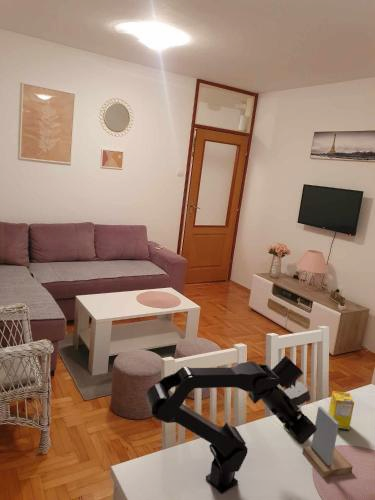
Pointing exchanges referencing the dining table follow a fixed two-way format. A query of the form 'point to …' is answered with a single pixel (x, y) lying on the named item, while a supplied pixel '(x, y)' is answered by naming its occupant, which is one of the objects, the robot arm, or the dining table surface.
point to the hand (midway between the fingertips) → (302, 429)
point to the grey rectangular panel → (324, 436)
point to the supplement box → (341, 409)
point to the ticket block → (337, 464)
